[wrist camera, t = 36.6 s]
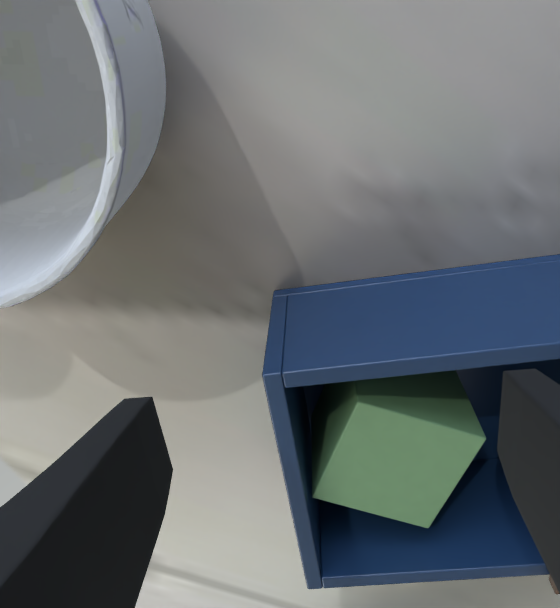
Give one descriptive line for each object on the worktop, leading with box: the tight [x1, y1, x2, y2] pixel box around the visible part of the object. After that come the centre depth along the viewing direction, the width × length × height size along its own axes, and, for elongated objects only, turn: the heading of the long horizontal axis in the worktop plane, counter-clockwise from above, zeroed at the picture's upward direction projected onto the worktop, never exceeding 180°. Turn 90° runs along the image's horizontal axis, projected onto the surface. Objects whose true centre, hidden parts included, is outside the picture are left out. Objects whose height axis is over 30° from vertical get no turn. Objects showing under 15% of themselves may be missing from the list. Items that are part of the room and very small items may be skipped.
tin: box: [262, 254, 560, 589], centre depth 20 cm, size 12×10×6 cm
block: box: [311, 370, 486, 528], centre depth 20 cm, size 5×5×5 cm
